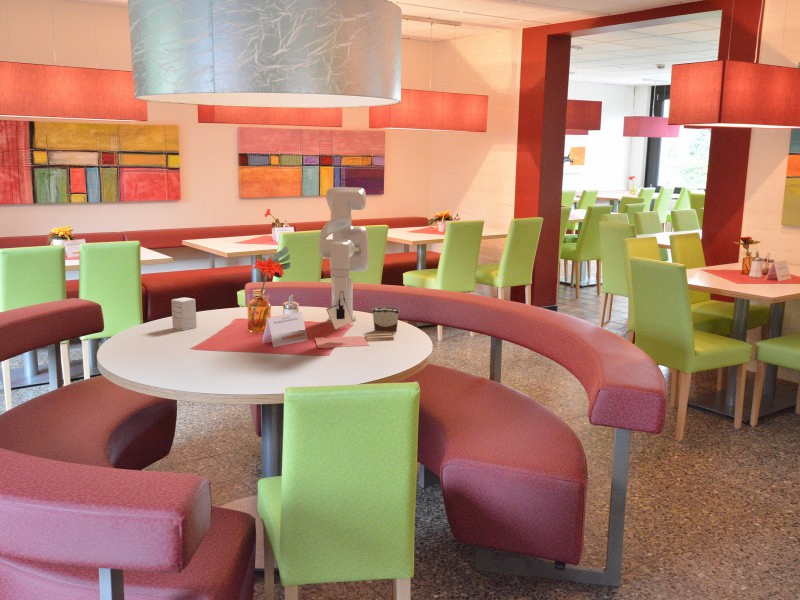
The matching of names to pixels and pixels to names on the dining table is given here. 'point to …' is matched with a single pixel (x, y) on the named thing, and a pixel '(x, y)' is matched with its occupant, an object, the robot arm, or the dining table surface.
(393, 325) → the half round cake
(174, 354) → the dining table surface
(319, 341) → the mat
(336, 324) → the grey square slab
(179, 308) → the supplement box
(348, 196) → the robot arm
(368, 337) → the stand
